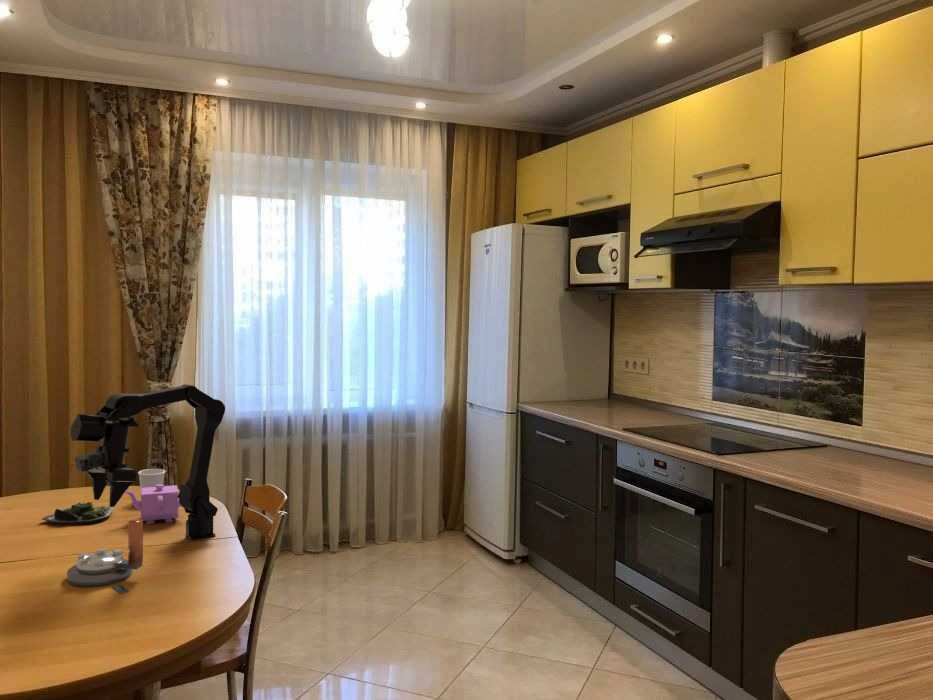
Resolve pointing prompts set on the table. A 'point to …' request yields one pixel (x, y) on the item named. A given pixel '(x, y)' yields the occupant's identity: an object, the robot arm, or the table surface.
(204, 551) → the table surface
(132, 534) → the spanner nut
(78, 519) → the salad plate
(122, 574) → the flange base
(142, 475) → the dixie cup
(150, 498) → the teapot
